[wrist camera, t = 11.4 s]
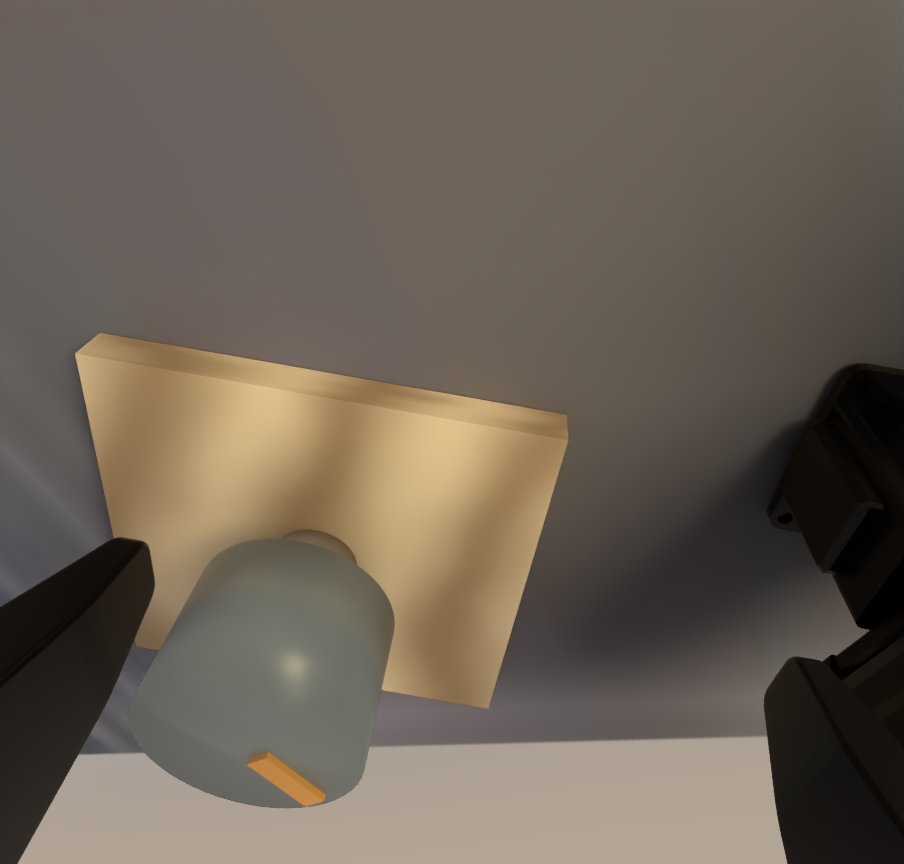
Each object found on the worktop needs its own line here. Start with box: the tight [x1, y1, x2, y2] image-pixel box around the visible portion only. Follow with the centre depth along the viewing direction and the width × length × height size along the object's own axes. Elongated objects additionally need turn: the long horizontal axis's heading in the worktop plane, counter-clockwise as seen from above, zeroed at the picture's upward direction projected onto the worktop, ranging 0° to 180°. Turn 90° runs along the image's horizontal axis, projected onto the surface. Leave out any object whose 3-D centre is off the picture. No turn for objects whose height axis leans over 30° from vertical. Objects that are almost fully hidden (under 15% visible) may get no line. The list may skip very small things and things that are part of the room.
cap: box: [127, 539, 395, 808], centre depth 21 cm, size 7×7×5 cm
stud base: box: [75, 333, 568, 709], centre depth 25 cm, size 16×15×4 cm
